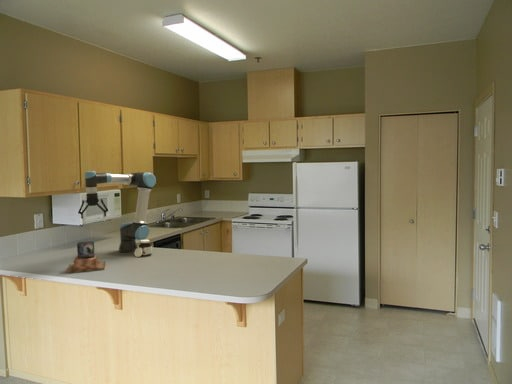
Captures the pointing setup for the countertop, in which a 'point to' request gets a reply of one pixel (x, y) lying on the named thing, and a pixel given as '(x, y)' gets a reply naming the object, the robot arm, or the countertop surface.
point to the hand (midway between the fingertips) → (94, 222)
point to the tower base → (99, 267)
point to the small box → (85, 249)
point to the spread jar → (144, 248)
